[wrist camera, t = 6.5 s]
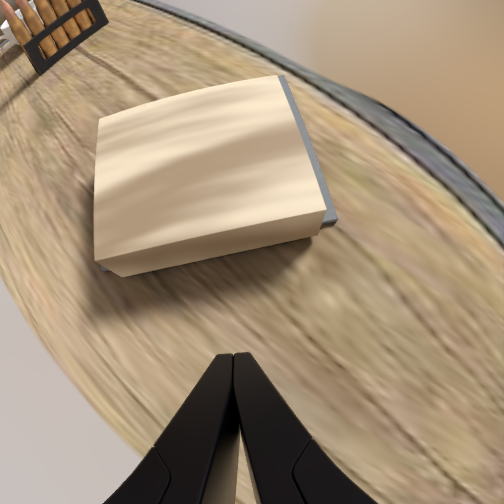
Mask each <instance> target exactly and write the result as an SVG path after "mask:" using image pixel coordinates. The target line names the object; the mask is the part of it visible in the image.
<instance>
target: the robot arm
mask: <svg viewBox="0 0 504 504" xmlns="http://www.w3.org/2000/svg"><path fill="white" fill-rule="evenodd" d="M240 431H241V437H242V442H243V447H244V451H245V456H246V460H247V465H248V469H249V474H250V478H251V482H252V487H253V491H254V495H255V499H256V503H257V504H378V503H377V502H376V501H375V500H373V499H372V498H371V497H370V496H369V495H368V494H366V493H365V492H364V491H363V490H362V489H361V488H359V487H358V486H357V485H356V484H355V483H354V482H353V481H352V480H351V479H349V478H348V477H347V476H346V475H345V474H344V473H343V472H342V471H341V470H340V469H339V468H338V467H337V466H336V465H335V464H334V463H333V461H332V460H331V459H330V458H329V457H328V456H327V454H326V453H325V452H324V451H323V450H322V448H321V447H320V446H319V445H318V443H317V442H316V441H315V440H314V439H312V436H311V435H310V433H309V432H308V431H307V429H306V428H305V427H304V425H303V424H302V423H301V422H300V420H299V419H298V418H297V416H296V415H295V414H294V412H293V411H292V410H291V408H290V407H289V406H288V404H287V403H286V402H285V400H284V399H283V397H282V396H281V395H280V393H279V392H278V391H277V389H276V388H275V387H274V385H273V384H272V382H271V381H270V380H269V378H268V377H267V375H266V374H265V373H264V371H263V370H262V368H261V367H260V366H259V364H258V363H257V361H256V360H255V359H254V357H253V356H252V354H251V353H249V352H243V353H235V354H234V356H233V354H231V353H229V354H218V355H216V357H215V358H214V359H213V361H212V362H211V364H210V365H209V367H208V368H207V370H206V371H205V373H204V374H203V375H202V377H201V378H200V380H199V381H198V383H197V384H196V386H195V387H194V388H193V390H192V391H191V393H190V394H189V396H188V397H187V398H186V400H185V401H184V403H183V404H182V406H181V407H180V408H179V410H178V411H177V413H176V414H175V416H174V417H173V418H172V420H171V421H170V423H169V424H168V425H167V427H166V428H165V430H164V431H163V432H162V434H161V435H160V437H159V438H158V439H157V441H156V442H155V444H154V447H151V449H150V450H149V452H148V453H147V454H146V456H145V457H144V458H143V460H142V461H141V462H140V464H139V465H138V466H137V468H136V469H135V470H134V471H133V473H132V474H131V475H130V476H129V477H128V478H127V479H126V480H125V481H124V482H123V484H122V485H121V486H120V487H119V488H118V489H117V490H116V491H115V492H114V493H113V494H112V495H111V496H110V497H109V498H108V499H107V500H106V501H105V502H104V503H103V504H235V495H236V482H237V470H238V457H239V444H240Z"/></svg>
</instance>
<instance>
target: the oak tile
mask: <svg viewBox="0 0 504 504" xmlns="http://www.w3.org/2000/svg"><path fill="white" fill-rule="evenodd" d="M326 210H327V209H326V206H325V203H324V200H323V197H322V194H321V191H320V188H319V185H318V182H317V179H316V176H315V173H314V170H313V167H312V165H311V162H310V159H309V156H308V153H307V151H306V148H305V145H304V142H303V140H302V137H301V134H300V132H299V129H298V126H297V124H296V121H295V118H294V116H293V113H292V111H291V108H290V106H289V103H288V101H287V98H286V96H285V93H284V91H283V88H282V86H281V83H280V81H279V79H278V76H277V75H274V76H267V77H260V78H254V79H248V80H243V81H237V82H232V83H227V84H222V85H217V86H213V87H208V88H204V89H199V90H195V91H191V92H187V93H183V94H179V95H175V96H171V97H168V98H164V99H160V100H157V101H153V102H150V103H147V104H143V105H140V106H137V107H134V108H130V109H127V110H124V111H121V112H118V113H115V114H112V115H110V116H107V117H104V118H101V119H99V127H98V137H97V149H96V163H95V182H94V260H95V262H97V263H99V264H100V265H102V266H104V267H105V268H107V269H109V270H110V271H112V272H114V273H115V274H117V275H119V276H121V277H126V276H131V275H135V274H140V273H145V272H149V271H154V270H158V269H163V268H168V267H172V266H177V265H182V264H186V263H191V262H195V261H200V260H205V259H209V258H214V257H219V256H223V255H228V254H233V253H237V252H242V251H246V250H251V249H256V248H260V247H265V246H270V245H274V244H279V243H284V242H288V241H293V240H298V239H302V238H307V237H312V236H316V235H318V233H319V230H320V227H321V225H322V222H323V219H324V216H325V213H326Z"/></svg>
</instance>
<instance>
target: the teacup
mask: <svg viewBox="0 0 504 504" xmlns="http://www.w3.org/2000/svg"><path fill="white" fill-rule="evenodd" d="M28 3H29V4H30V6H31V7H32V9H33V10H34V11H35V12H36V13H37V15H38V17H39V18H40V16H39V14H38V12H37V10H36V7H35V4H34V2H33V0H32V1H30V2H28ZM15 13H16V14H17V16H18V17H19V19H21V20H22V21H23V23H24V24H25V26H26V28H27V29H28V31H29V32H30V30H29V28H28V27H27V25H26V23H25V22H24V19H23V16H22V14H21V12H20V9H18V10H17V11H15ZM40 20H41V22H42V23H43V21H42V19H41V18H40ZM43 25H44V23H43ZM1 30H2V31H3V33H4V35H2V36H1V37H0V40H1V39H9V40H10V41H11V43H10V44H9V45H8V46H7V47H5V48H0V51H3V50H6V49H9V48H11V47H12V46H14V45H16V44H17V45H20V44H19V42H18V41H17V39H16V38H15V36H14V35H13V33H12V31H11V29H10V26H9V24H8V22H7V20H6V21H5V22H4V23H3V24H2V26H1ZM30 34H32V33H31V32H30Z"/></svg>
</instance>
